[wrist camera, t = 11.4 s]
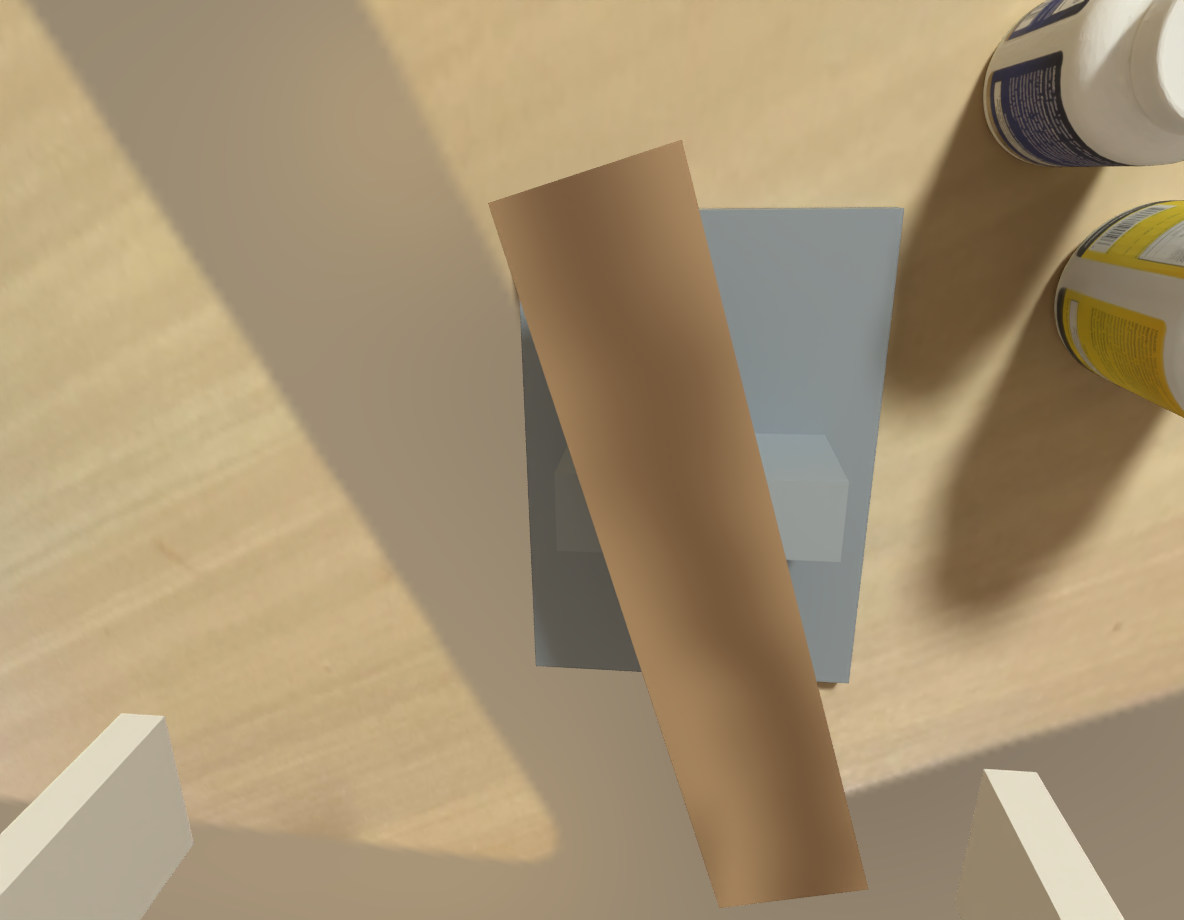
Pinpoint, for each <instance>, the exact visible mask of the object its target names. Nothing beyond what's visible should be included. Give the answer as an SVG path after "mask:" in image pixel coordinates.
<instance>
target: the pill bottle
mask: <svg viewBox="0 0 1184 920" xmlns="http://www.w3.org/2000/svg"><path fill="white" fill-rule="evenodd" d="M983 103H984V112H985V117H986V120H987V124H988V126H989V128H990V131H991V132H992V134H993V136H994V137H995V139H996V140H997V142H998V143H999V144H1000V145H1001V146H1002V147H1003V148H1004V149H1005V150H1006V151H1007V152H1008V153H1010V154H1011V155H1013V156H1014V157H1016V158H1018V159H1020V160H1022V161H1024V162H1027V163H1030V164H1034V165H1039V166H1047V167H1094V166H1153V165H1164V164H1172V163H1177V162H1181V161H1184V0H1047V1H1045V2H1043V3H1041V4H1040V5H1038V6H1037V7H1035V8H1034V9H1032V10H1031V11H1029V12H1028V13H1027V14H1025V15H1024V16H1023V17H1022V18H1021V19H1020V20H1018V21H1017V22H1016V23H1015V25H1014V26H1013V27H1012V28H1011V29H1010V30H1009V31H1008V32H1007V34H1006V35H1005V36H1004V38H1003V39H1002V41H1001V42H1000V43H999V45H998V47H997V49H996V50H995V52H994V54H993V56H992V59H991V61H990V63H989V66H988V69H987V73H986V77H985V83H984V90H983Z"/></svg>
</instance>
